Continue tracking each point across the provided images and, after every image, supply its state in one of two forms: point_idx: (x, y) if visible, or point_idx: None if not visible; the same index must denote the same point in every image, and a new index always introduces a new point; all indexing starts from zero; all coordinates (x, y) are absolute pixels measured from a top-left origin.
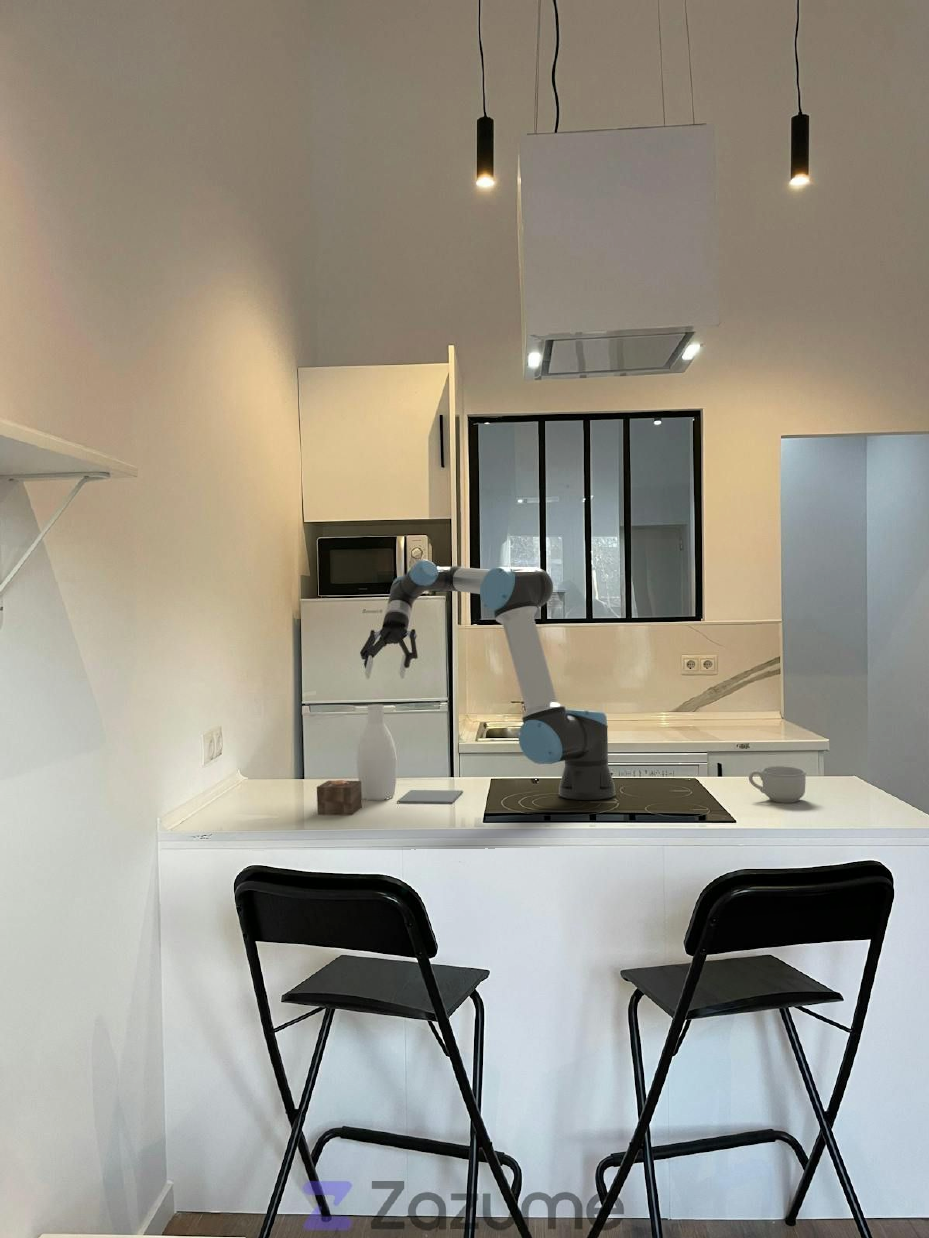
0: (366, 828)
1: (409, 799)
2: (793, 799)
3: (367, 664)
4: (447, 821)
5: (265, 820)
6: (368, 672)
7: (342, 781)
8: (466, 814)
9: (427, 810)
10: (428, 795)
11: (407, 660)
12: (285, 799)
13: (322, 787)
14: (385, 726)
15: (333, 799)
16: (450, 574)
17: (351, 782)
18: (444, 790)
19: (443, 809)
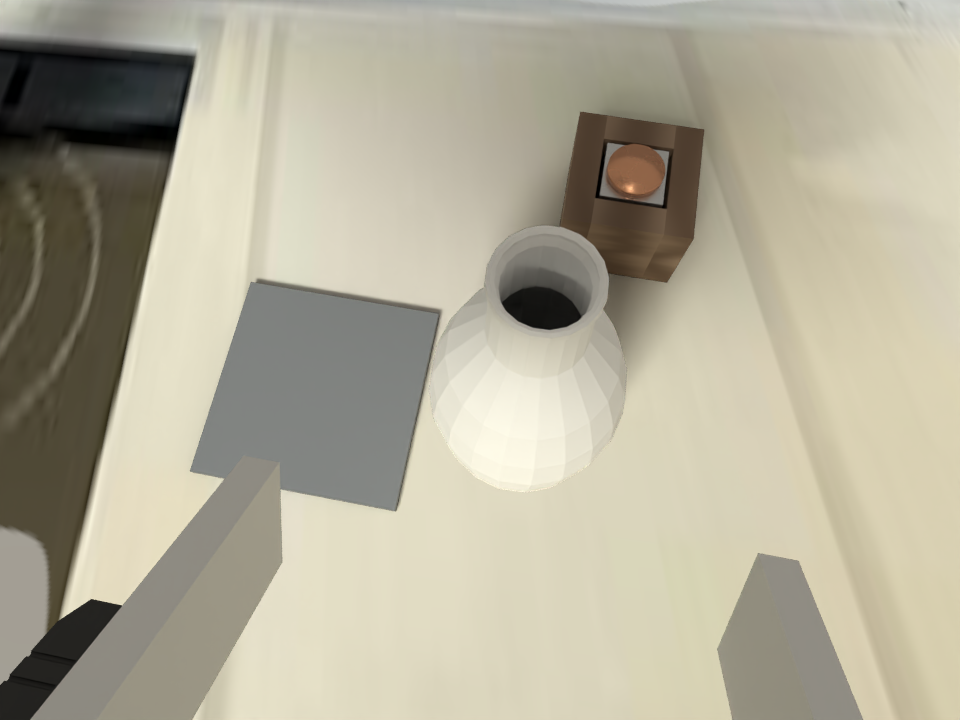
0: (502, 24)
1: (396, 330)
2: None
3: (841, 705)
4: (288, 73)
5: (815, 129)
6: (752, 625)
7: (624, 169)
8: (227, 142)
9: (339, 202)
10: (327, 392)
11: (31, 686)
12: (871, 430)
13: (682, 127)
14: (475, 318)
15: None
16: None
17: (593, 192)
18: None
19: (289, 210)
